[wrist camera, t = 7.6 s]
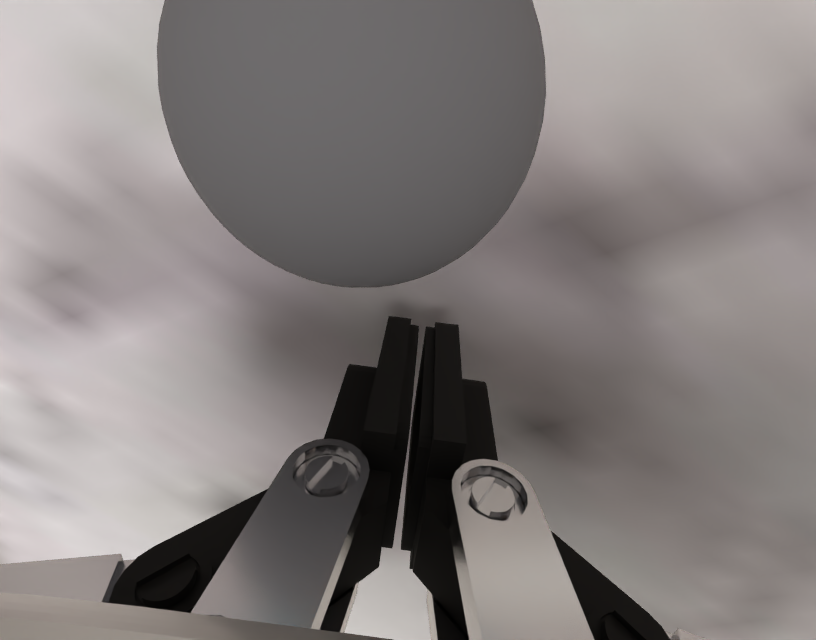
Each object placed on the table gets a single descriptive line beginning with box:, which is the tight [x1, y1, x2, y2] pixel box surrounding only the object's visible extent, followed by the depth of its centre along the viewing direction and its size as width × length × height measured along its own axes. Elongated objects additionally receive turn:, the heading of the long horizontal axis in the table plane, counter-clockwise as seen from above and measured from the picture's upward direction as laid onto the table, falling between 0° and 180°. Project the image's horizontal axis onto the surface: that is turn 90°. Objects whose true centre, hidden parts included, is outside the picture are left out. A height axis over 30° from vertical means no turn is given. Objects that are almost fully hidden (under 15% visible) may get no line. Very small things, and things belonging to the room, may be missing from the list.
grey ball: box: [157, 0, 546, 288], centre depth 7 cm, size 6×6×6 cm
